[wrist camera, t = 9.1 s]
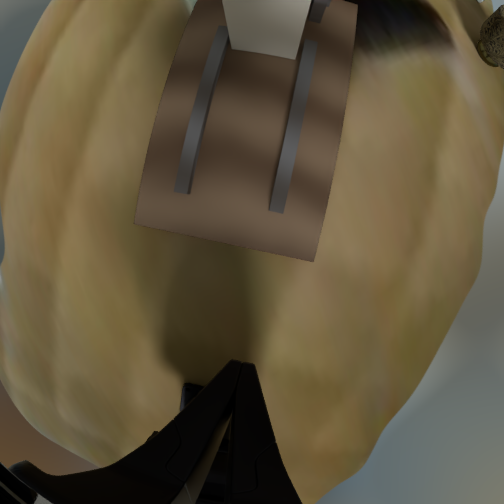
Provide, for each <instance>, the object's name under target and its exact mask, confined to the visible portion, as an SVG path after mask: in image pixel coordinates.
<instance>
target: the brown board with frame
mask: <svg viewBox="0 0 504 504" xmlns="http://www.w3.org/2000/svg"><path fill="white" fill-rule="evenodd" d="M357 6H358V5H356V4H353V3H350V2H346V1H343V0H311V3H310V7H309V10H308V14H307V18H306V21H305V25H304V29H303V32H302V36H301V40H300V44H299V47H298V51H297V55H296V58H295V60H293V59H288V58H284V57H279V56H274V55H268V54H262V53H256V52H250V51H243V50H235V49H232V48H231V43H230V38H229V32H228V27H227V22H226V17H225V12H224V7H223V2H222V0H197V2H196V4H195V6H194V9H193V11H192V13H191V16H190V18H189V20H188V23H187V25H186V28H185V30H184V33H183V35H182V38H181V40H180V43H179V46H178V49H177V51H176V54H175V57H174V60H173V63H172V65H171V68H170V71H169V74H168V78H167V81H166V84H165V87H164V90H163V94H162V97H161V100H160V104H159V107H158V111H157V115H156V118H155V122H154V126H153V130H152V134H151V138H150V142H149V146H148V151H147V155H146V160H145V164H144V169H143V174H142V179H141V184H140V190H139V196H138V201H137V207H136V214H135V220H134V224H136V225H141V226H146V227H150V228H155V229H160V230H165V231H169V232H174V233H179V234H184V235H188V236H193V237H198V238H202V239H207V240H212V241H217V242H221V243H226V244H231V245H236V246H240V247H245V248H250V249H254V250H259V251H264V252H268V253H273V254H278V255H282V256H287V257H292V258H296V259H301V260H306V261H310V262H314V258H315V254H316V250H317V246H318V242H319V238H320V234H321V230H322V225H323V221H324V217H325V212H326V208H327V203H328V199H329V194H330V189H331V185H332V180H333V175H334V170H335V165H336V160H337V154H338V149H339V144H340V138H341V132H342V127H343V121H344V115H345V108H346V102H347V95H348V88H349V81H350V74H351V66H352V58H353V49H354V40H355V30H356V19H357Z"/></svg>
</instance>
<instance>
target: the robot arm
mask: <svg viewBox="0 0 504 504" xmlns="http://www.w3.org/2000/svg"><path fill="white" fill-rule="evenodd" d="M186 387H188V388H190V389H187V388H186ZM36 492H37V493H36ZM0 504H302V502H301V500H300V498H299V496H298V494H297V492H296V490H295V488H294V486H293V484H292V482H291V480H290V478H289V476H288V474H287V471H286V469H285V467H284V464H283V462H282V459H281V456H280V453H279V449H278V446H277V443H276V439H275V436H274V432H273V429H272V425H271V422H270V418H269V415H268V411H267V407H266V404H265V400H264V397H263V393H262V389H261V386H260V382H259V378H258V374H257V371H256V367H255V365H254V364H253V363H248V362H243V363H242V361H238V360H233V359H232V360H230V361H229V362H228V363H227V364H226V365H225V366H224V367H223V369H222V370H221V371H220V372H219V373H218V374H217V375H216V376H215V377H214V378H213V379H212V380H211V381H210V382H209V383H208V384H207V385H206V386H205V387H203V386H199V385H195V384H191V383H185V384H184V386H183V389H182V398H181V408H180V413H179V414H178V415H177V416H176V417H175V418H174V420H171V421H170V422H169V423H168V424H167V425H166V426H165V427H164V428H163V429H162V430H161V431H160V432H158V431H154V432H153V434H152V435H151V436H150V437H149V438H148V439H147V441H146V442H145V443H144V444H143V445H141V446H140V447H138V448H137V449H136V450H134V451H133V452H131V453H130V454H128V455H127V456H125V457H124V458H122V459H120V460H119V461H117V462H115V463H113V464H111V465H109V466H107V467H103V468H99V469H95V470H90V471H85V472H80V473H74V474H68V475H61V476H55V475H50V474H47V473H45V472H43V471H41V470H40V469H39V468H37V467H36V466H34V465H33V464H32V463H30V462H29V461H27V460H25V461H22V462H18V463H16V464H13V465H12V466H10V467H9V469H7V468H6V467H5V466H4V465H3V464H2V463H1V462H0Z"/></svg>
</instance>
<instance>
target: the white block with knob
mask: <svg viewBox="0 0 504 504" xmlns="http://www.w3.org/2000/svg"><path fill="white" fill-rule="evenodd" d="M222 2H223V7H224V12H225V17H226V22H227V27H228V32H229V38H230V43H231V48H232V49H235V50H243V51H250V52H256V53H262V54H268V55H274V56H279V57H284V58H288V59H293V60H295V58H296V55H297V51H298V47H299V44H300V40H301V36H302V32H303V29H304V25H305V21H306V18H307V14H308V10H309V7H310V3H311V0H222Z"/></svg>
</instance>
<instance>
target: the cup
mask: <svg viewBox="0 0 504 504" xmlns="http://www.w3.org/2000/svg"><path fill="white" fill-rule="evenodd" d="M480 36H481V40H479V41H478V44H477V49H478V52H479V54H480V56H481V58H482V59H483V60H484V61H485V62H486V63H487V64H488V65H489V66H492V67H498V66H499V67H501V68H503V69H504V5H501V6H500V7H499V8H498V9H497V10H496V11H495V12H494V13H493V14H492V15H491V16H490V17H489V18H488V19H487V20H486V21H485V22H484V24H483V25H482V27H481V31H480Z"/></svg>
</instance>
